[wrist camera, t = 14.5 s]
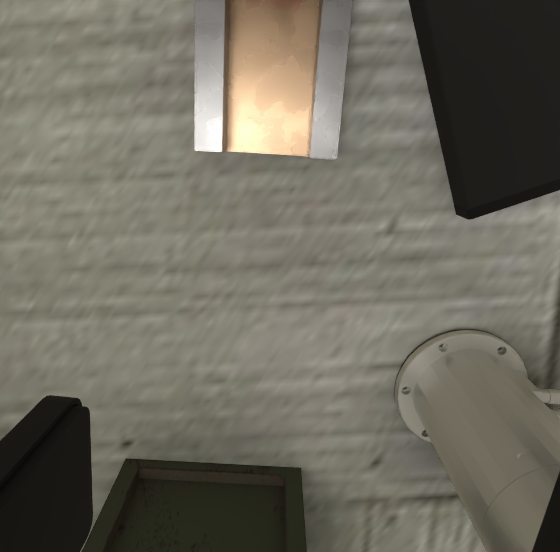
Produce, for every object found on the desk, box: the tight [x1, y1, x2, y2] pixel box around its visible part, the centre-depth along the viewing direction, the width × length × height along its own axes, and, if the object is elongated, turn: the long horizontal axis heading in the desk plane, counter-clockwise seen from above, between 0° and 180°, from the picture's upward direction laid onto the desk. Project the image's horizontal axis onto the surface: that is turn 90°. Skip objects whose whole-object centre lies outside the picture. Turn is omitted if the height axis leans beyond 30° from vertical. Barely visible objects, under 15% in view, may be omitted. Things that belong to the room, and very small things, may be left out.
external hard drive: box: [409, 0, 560, 219], centre depth 32 cm, size 14×23×3 cm, turn 19°
